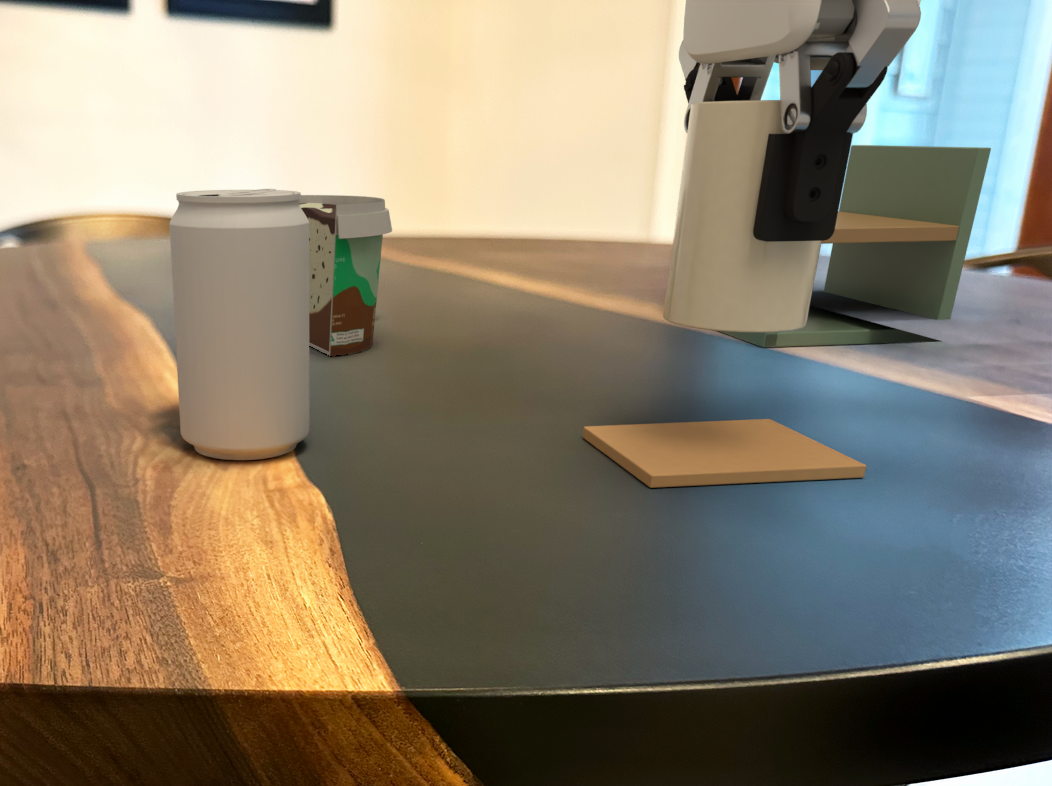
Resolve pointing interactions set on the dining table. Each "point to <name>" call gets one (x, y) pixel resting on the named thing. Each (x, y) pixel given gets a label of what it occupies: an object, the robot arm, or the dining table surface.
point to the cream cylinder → (733, 230)
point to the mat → (719, 453)
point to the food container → (344, 269)
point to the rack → (894, 241)
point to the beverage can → (241, 321)
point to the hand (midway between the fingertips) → (748, 228)
